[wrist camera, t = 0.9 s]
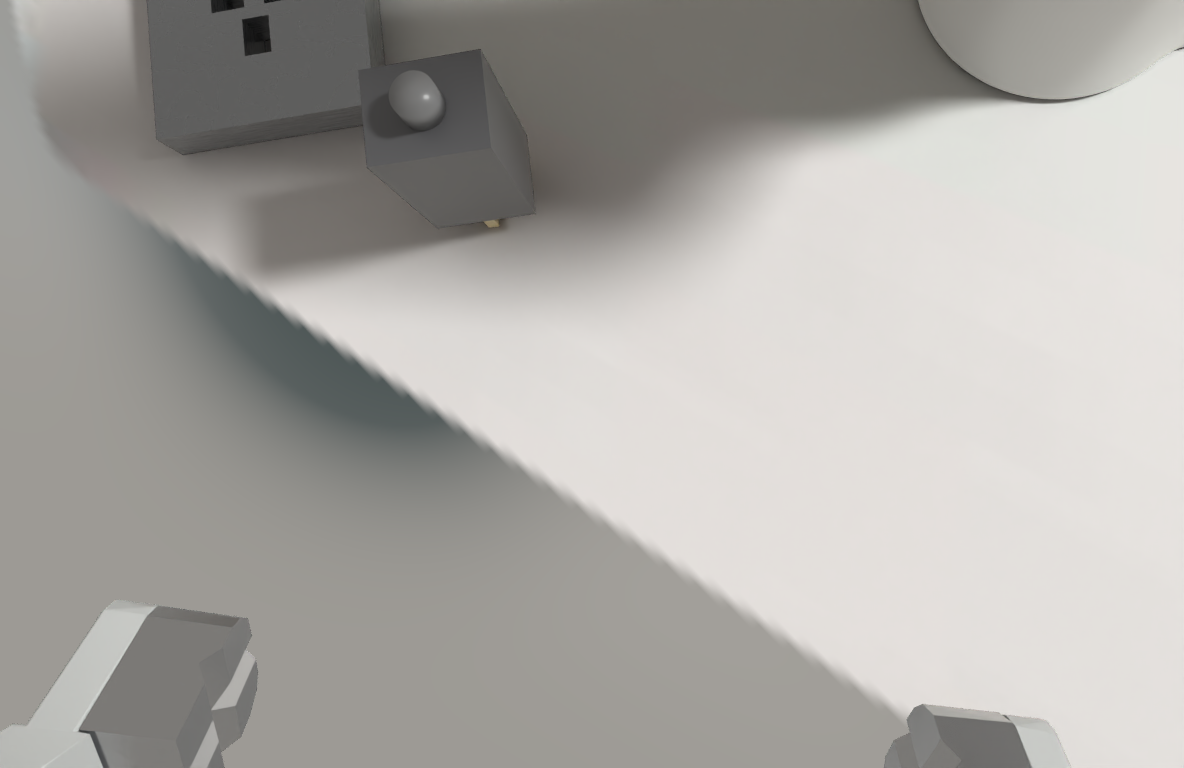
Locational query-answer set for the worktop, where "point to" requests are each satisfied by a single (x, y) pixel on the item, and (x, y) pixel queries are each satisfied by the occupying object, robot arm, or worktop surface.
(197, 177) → the worktop surface
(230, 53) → the socket plate
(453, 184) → the plug
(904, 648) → the worktop surface
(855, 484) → the worktop surface
